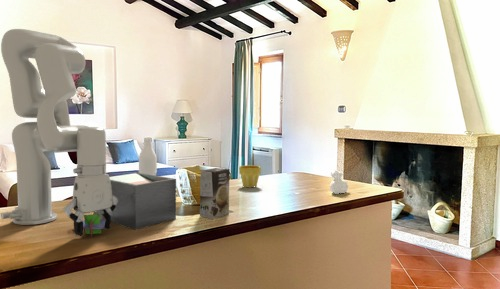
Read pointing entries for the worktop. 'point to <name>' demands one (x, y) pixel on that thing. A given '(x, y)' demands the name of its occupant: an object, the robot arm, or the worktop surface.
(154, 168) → the water bottle
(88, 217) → the geometric puzzle
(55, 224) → the worktop surface
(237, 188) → the worktop surface
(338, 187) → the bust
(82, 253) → the worktop surface
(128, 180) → the trapdoor
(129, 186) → the bin
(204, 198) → the coffee box
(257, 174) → the plant pot
